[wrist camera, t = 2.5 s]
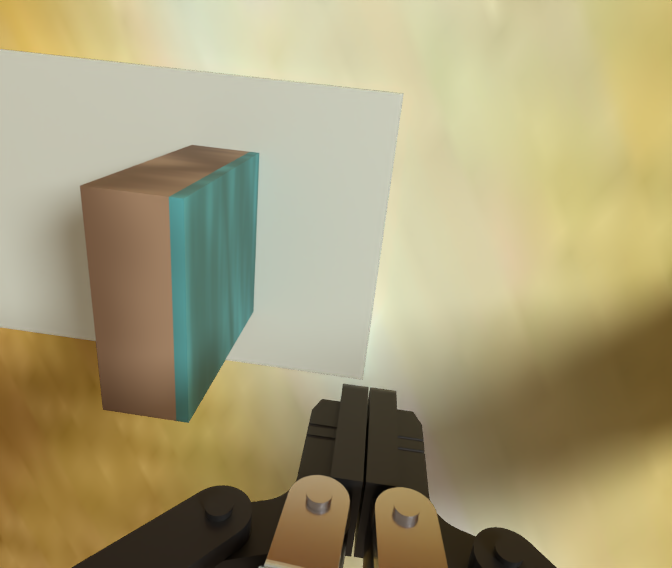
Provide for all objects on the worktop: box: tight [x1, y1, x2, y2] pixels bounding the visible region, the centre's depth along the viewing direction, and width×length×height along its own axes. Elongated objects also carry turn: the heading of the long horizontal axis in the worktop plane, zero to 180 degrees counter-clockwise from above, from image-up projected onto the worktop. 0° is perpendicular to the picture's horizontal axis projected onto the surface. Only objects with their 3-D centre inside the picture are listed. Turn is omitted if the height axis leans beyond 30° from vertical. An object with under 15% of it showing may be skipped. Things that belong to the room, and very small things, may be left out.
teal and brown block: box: [80, 145, 259, 423], centre depth 23 cm, size 4×9×10 cm, turn 174°
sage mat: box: [0, 49, 403, 380], centre depth 28 cm, size 23×16×1 cm
